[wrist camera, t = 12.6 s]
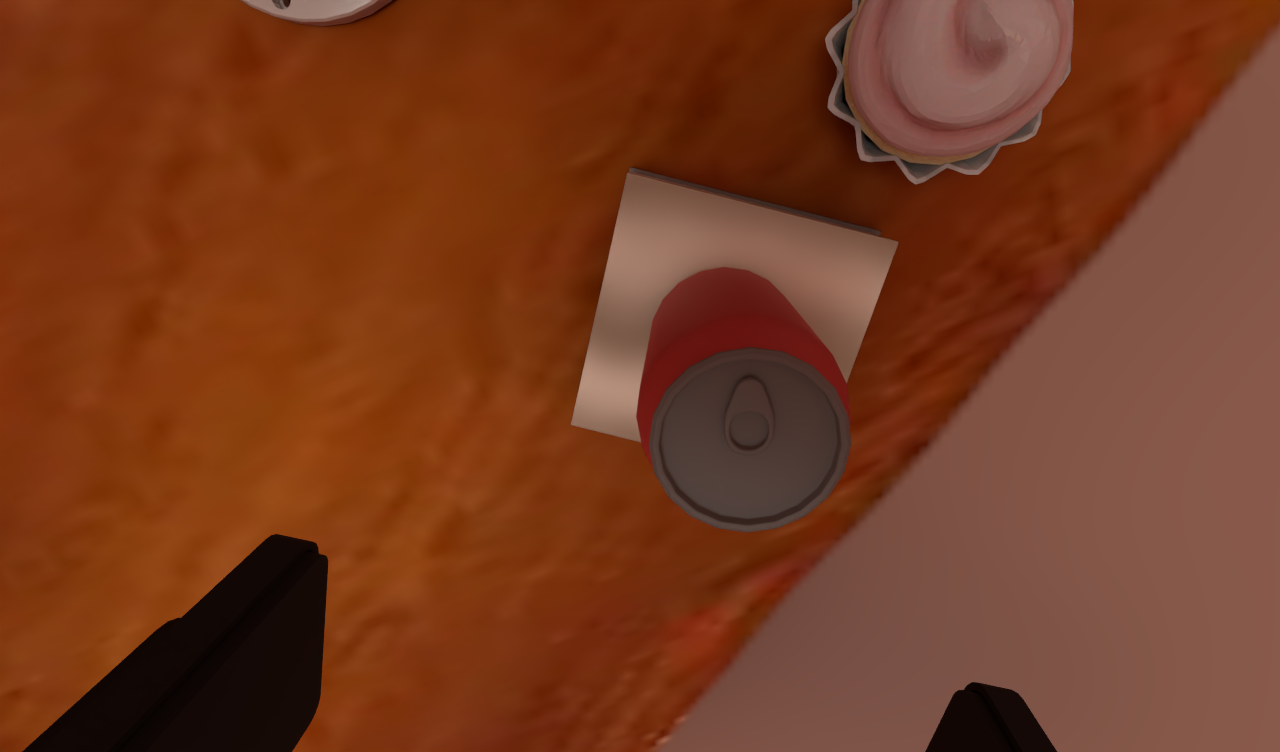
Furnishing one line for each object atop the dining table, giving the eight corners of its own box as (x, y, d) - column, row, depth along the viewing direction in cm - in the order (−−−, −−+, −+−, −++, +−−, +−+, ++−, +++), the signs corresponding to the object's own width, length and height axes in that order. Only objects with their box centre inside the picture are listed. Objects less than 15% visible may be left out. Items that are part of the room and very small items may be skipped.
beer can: (798, 263, 28) (881, 328, 16) (792, 404, 30) (861, 550, 18) (648, 266, 28) (625, 332, 17) (652, 405, 30) (634, 548, 19)
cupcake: (772, 14, 28) (818, -66, 19) (984, -85, 27) (1152, -226, 17) (835, 213, 31) (903, 232, 21) (1032, 134, 29) (1203, 116, 20)
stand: (631, 167, 31) (624, 166, 27) (877, 229, 31) (904, 238, 27) (578, 399, 34) (566, 427, 31) (797, 453, 35) (811, 488, 31)
